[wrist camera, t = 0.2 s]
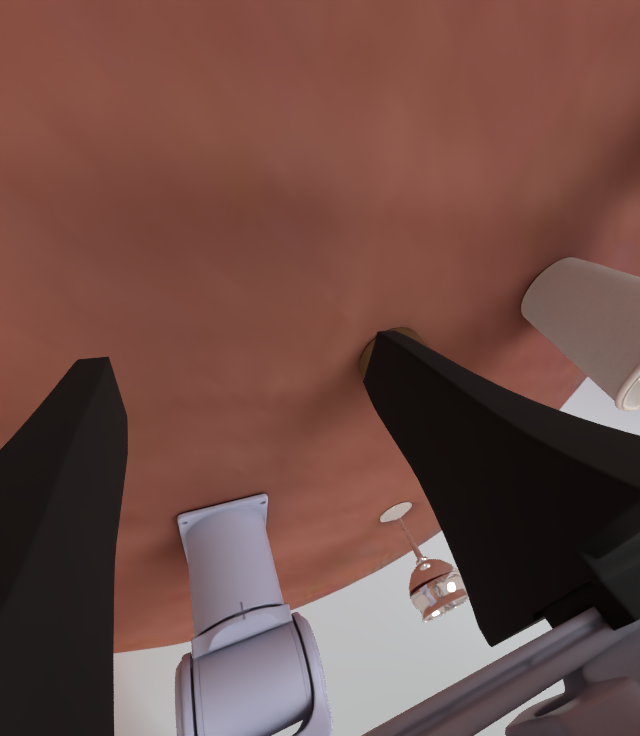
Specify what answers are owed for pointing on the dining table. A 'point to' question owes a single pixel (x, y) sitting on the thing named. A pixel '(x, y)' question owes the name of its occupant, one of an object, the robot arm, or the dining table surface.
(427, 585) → the wineglass
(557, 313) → the dixie cup
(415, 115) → the dining table surface
